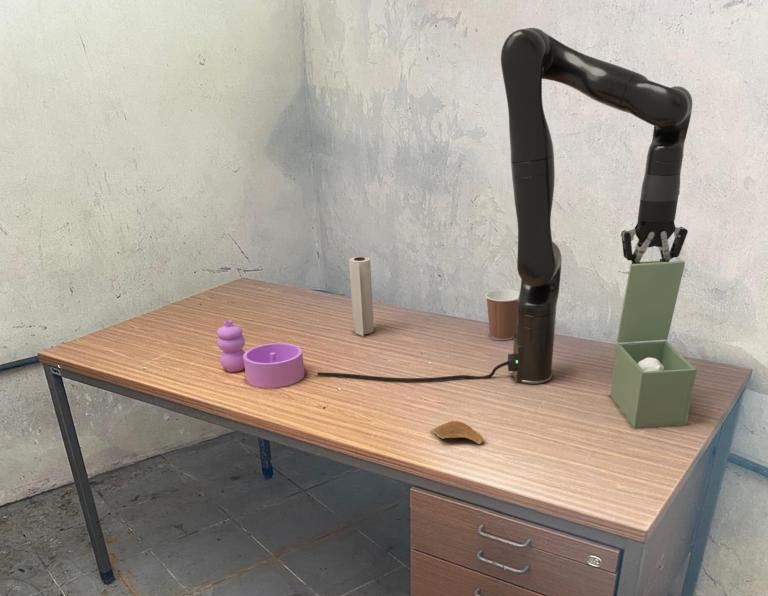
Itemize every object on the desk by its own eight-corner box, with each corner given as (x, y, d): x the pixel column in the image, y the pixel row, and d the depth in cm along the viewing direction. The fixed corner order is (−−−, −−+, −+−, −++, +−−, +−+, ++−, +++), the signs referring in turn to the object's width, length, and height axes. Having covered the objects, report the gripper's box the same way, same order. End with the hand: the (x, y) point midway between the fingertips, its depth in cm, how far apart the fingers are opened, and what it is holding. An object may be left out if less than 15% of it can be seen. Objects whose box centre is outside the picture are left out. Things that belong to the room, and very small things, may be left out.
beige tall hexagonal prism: (362, 326, 232) (357, 254, 220) (378, 329, 229) (374, 257, 217) (347, 333, 227) (342, 260, 215) (363, 337, 224) (359, 263, 212)
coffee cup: (526, 333, 220) (528, 291, 214) (511, 344, 213) (513, 302, 207) (494, 328, 225) (495, 287, 219) (478, 339, 218) (479, 297, 212)
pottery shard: (485, 444, 164) (486, 434, 162) (445, 452, 162) (445, 441, 160) (467, 424, 172) (467, 414, 171) (428, 431, 170) (428, 421, 169)
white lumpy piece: (631, 357, 168) (651, 379, 177) (629, 392, 166) (649, 413, 175) (660, 351, 164) (678, 375, 173) (658, 387, 162) (677, 409, 171)
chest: (686, 424, 167) (696, 369, 160) (634, 428, 167) (642, 373, 160) (658, 392, 182) (666, 340, 175) (610, 395, 182) (616, 343, 175)
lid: (685, 262, 162) (677, 252, 166) (631, 265, 162) (624, 255, 166) (667, 339, 174) (660, 329, 178) (617, 342, 174) (611, 332, 178)
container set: (315, 370, 204) (310, 322, 197) (281, 391, 193) (275, 341, 186) (242, 357, 215) (235, 311, 208) (206, 376, 204) (197, 328, 197)
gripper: (686, 191, 163) (673, 271, 172) (619, 195, 162) (610, 275, 172) (700, 197, 156) (686, 280, 165) (631, 201, 156) (621, 284, 165)
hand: (648, 277), depth 168 cm, fingers closed on lid, 5 cm apart
